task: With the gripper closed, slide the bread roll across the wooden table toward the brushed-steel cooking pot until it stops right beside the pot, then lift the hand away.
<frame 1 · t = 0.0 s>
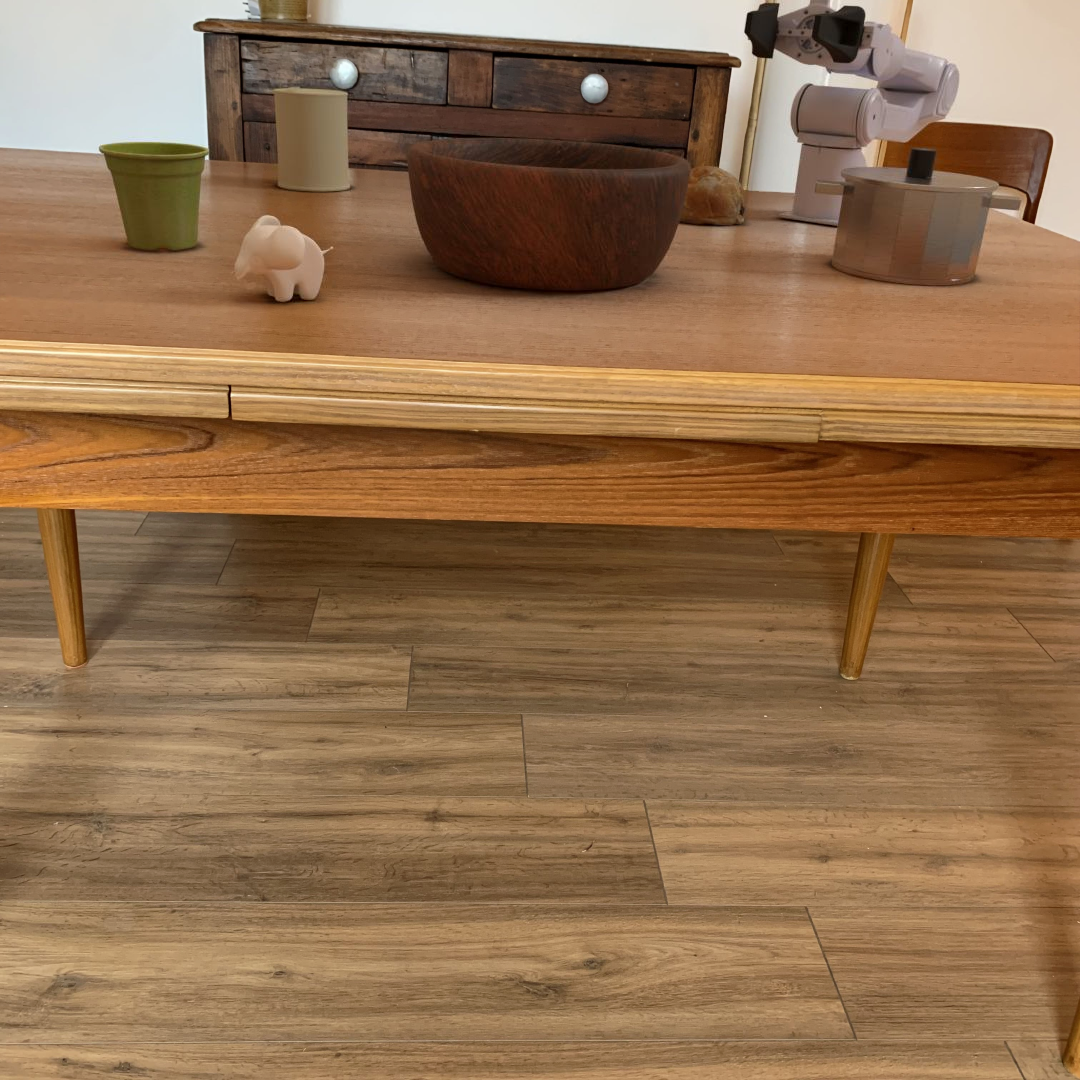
hand: (781, 24, 114), 22 cm above the table, tool horizontal, fingers open, 7 cm apart
wooden bowl: (543, 271, 101), on the table
pot: (901, 270, 109), on the table
bread roll: (700, 221, 133), on the table
can: (314, 188, 142), on the table
pot lid: (917, 181, 106), point 8 cm above the table, touching pot
elephant figurine: (285, 300, 86), on the table
plant pot: (164, 248, 102), on the table
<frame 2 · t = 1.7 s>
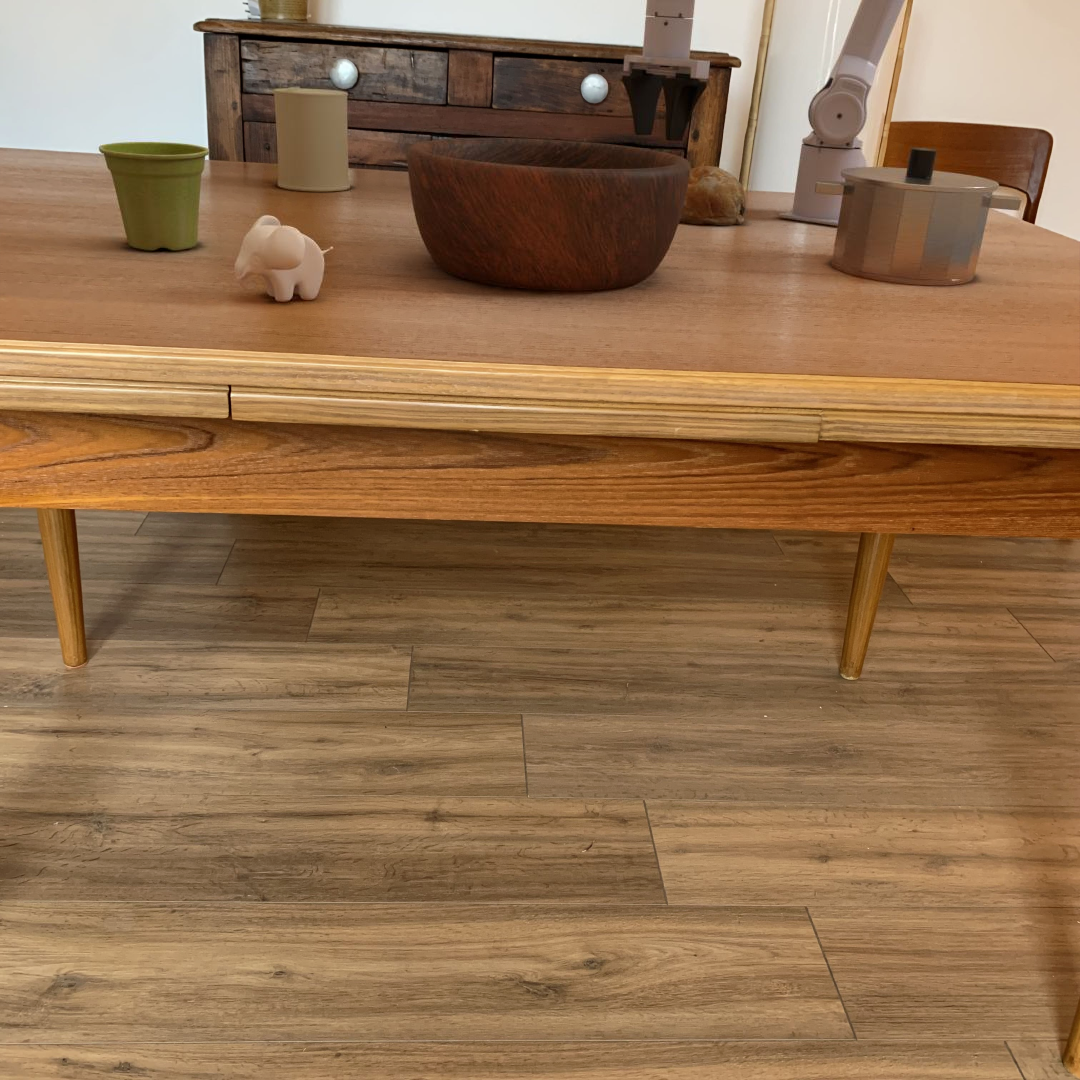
hand: (658, 137, 137), 8 cm above the table, tool pointing down, fingers open, 6 cm apart
nothing on the table moved.
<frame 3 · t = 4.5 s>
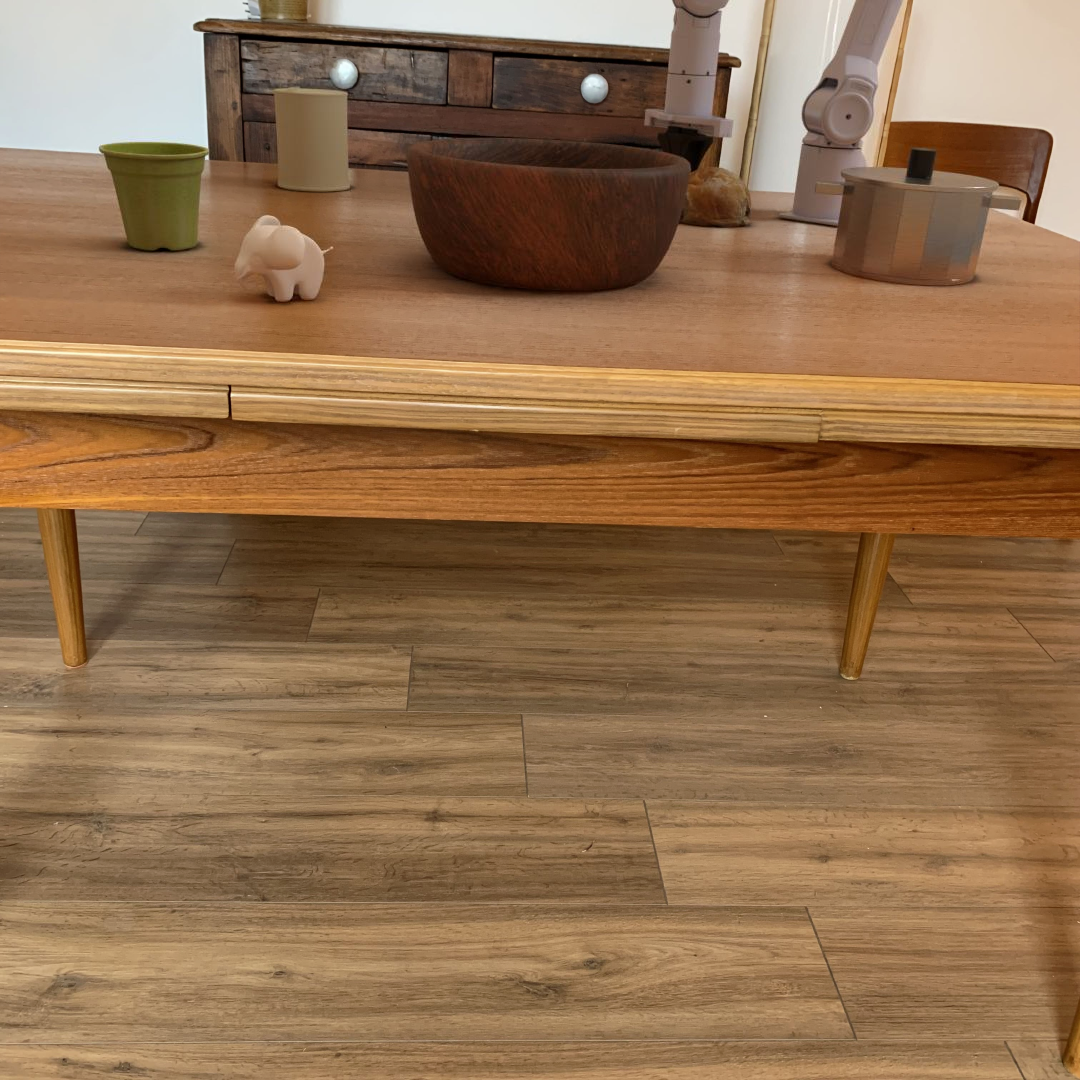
hand: (679, 193, 135), 2 cm above the table, tool pointing down, fingers closed
bread roll: (706, 222, 132), on the table, touching gripper
everything else where it was.
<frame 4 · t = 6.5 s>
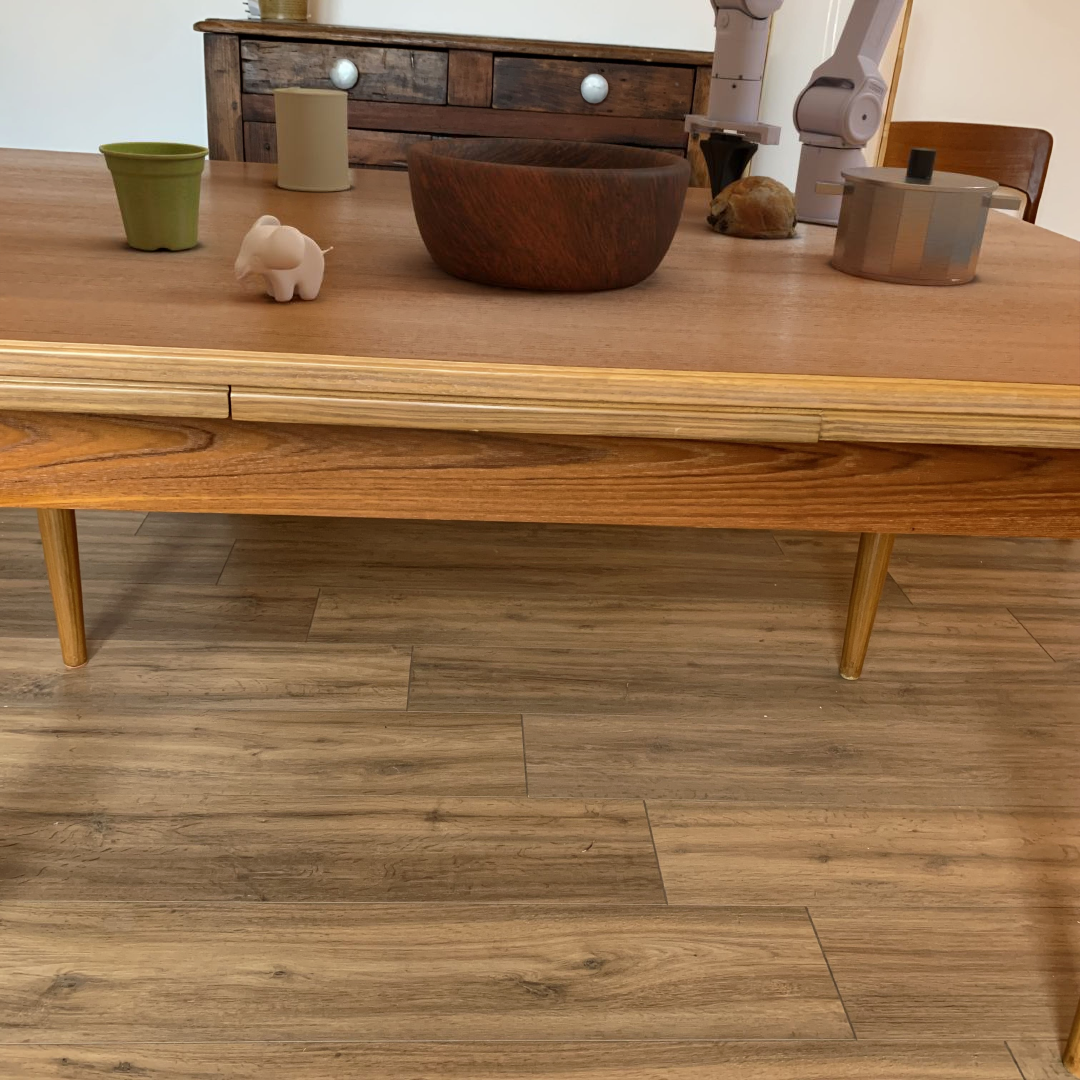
hand: (721, 203, 129), 2 cm above the table, tool pointing down, fingers closed
bread roll: (750, 233, 126), on the table, touching gripper
everything else where it was.
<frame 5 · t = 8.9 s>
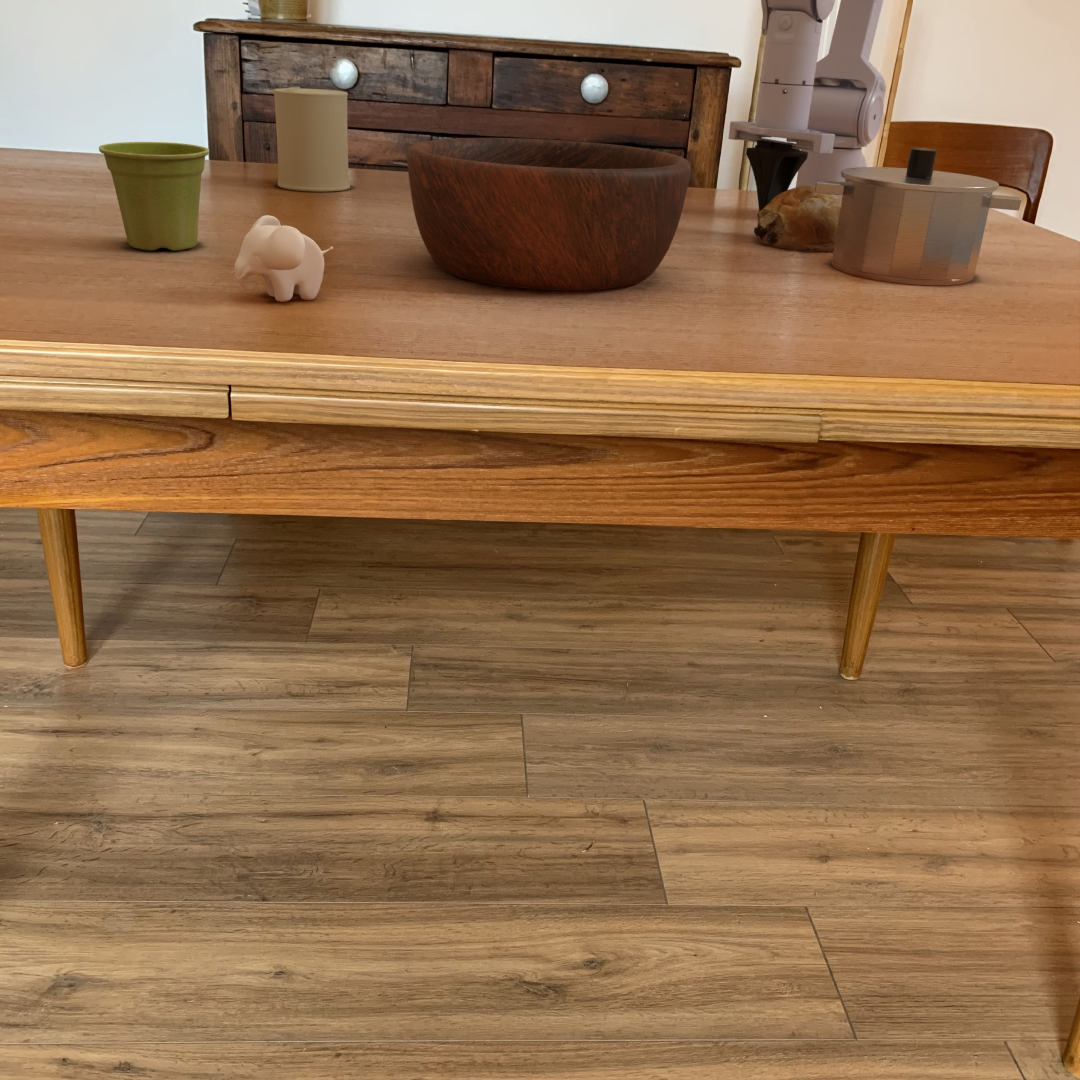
hand: (768, 214, 123), 2 cm above the table, tool pointing down, fingers closed
bread roll: (799, 246, 120), on the table, touching gripper
everything else where it was.
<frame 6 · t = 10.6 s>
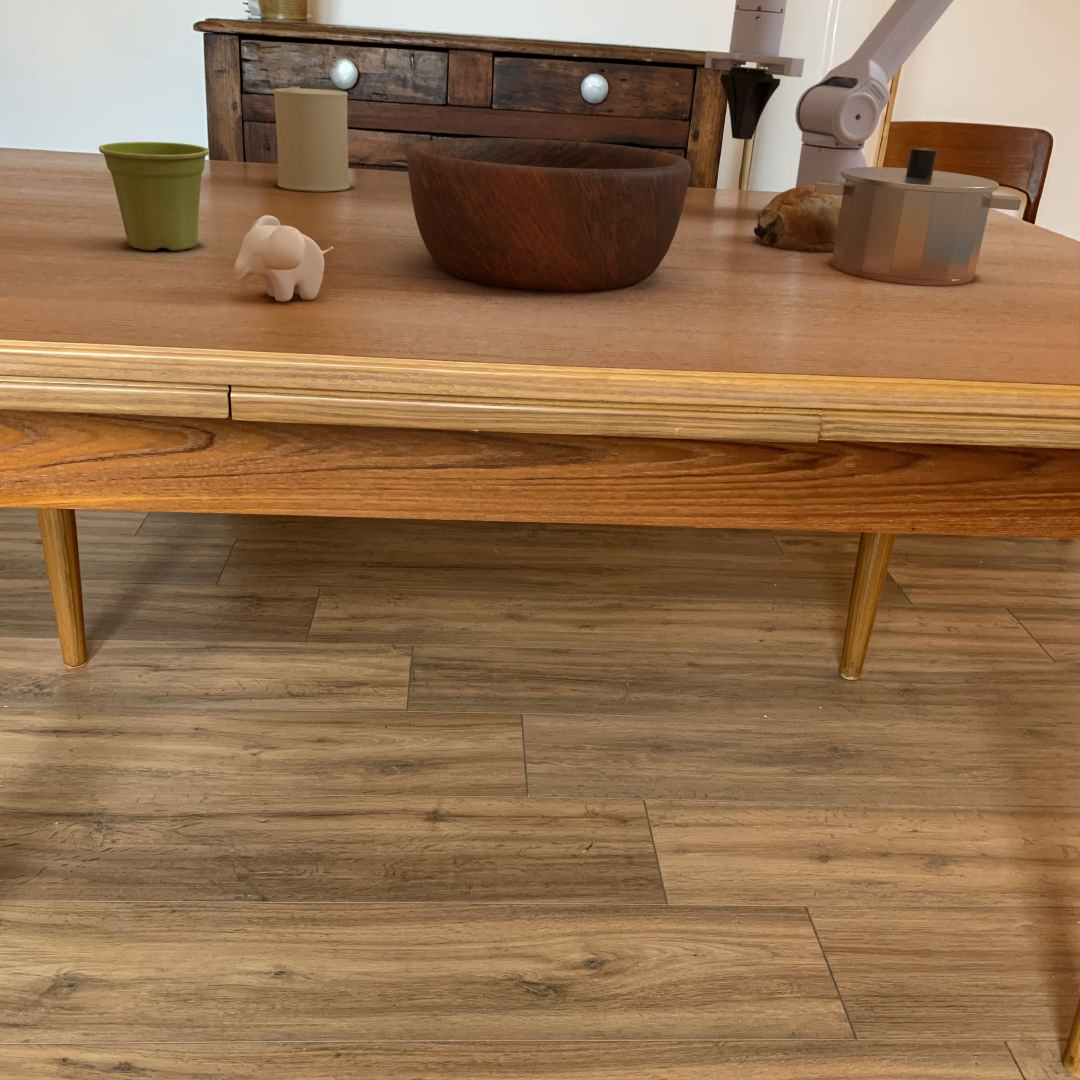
hand: (741, 138, 130), 9 cm above the table, tool pointing down, fingers closed
bread roll: (799, 246, 120), on the table
everything else where it was.
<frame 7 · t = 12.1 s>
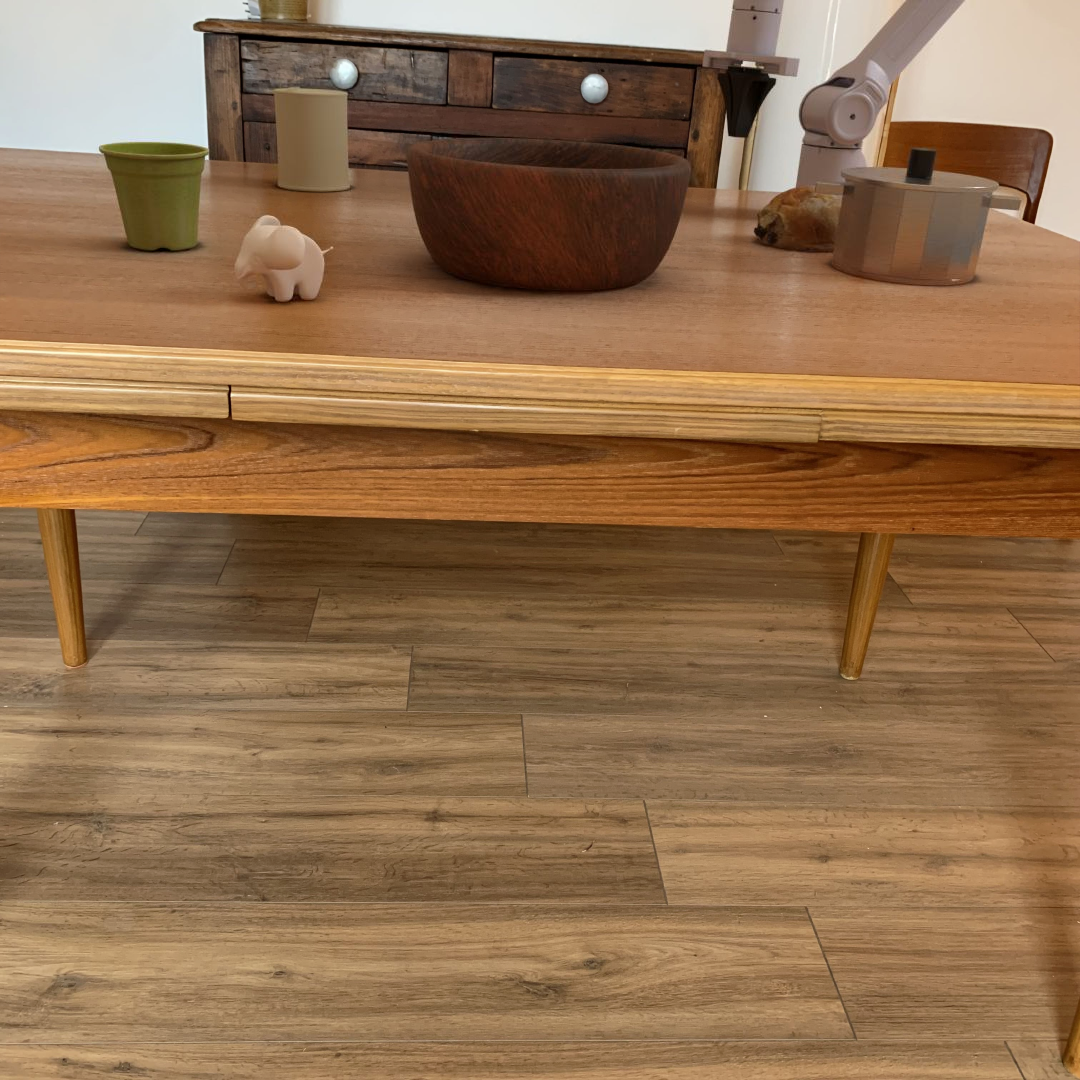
hand: (737, 137, 132), 9 cm above the table, tool pointing down, fingers closed
nothing on the table moved.
at the end: bread roll 14.4 cm from the pot (horizontally); bread roll moved 17.0 cm from its start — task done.
